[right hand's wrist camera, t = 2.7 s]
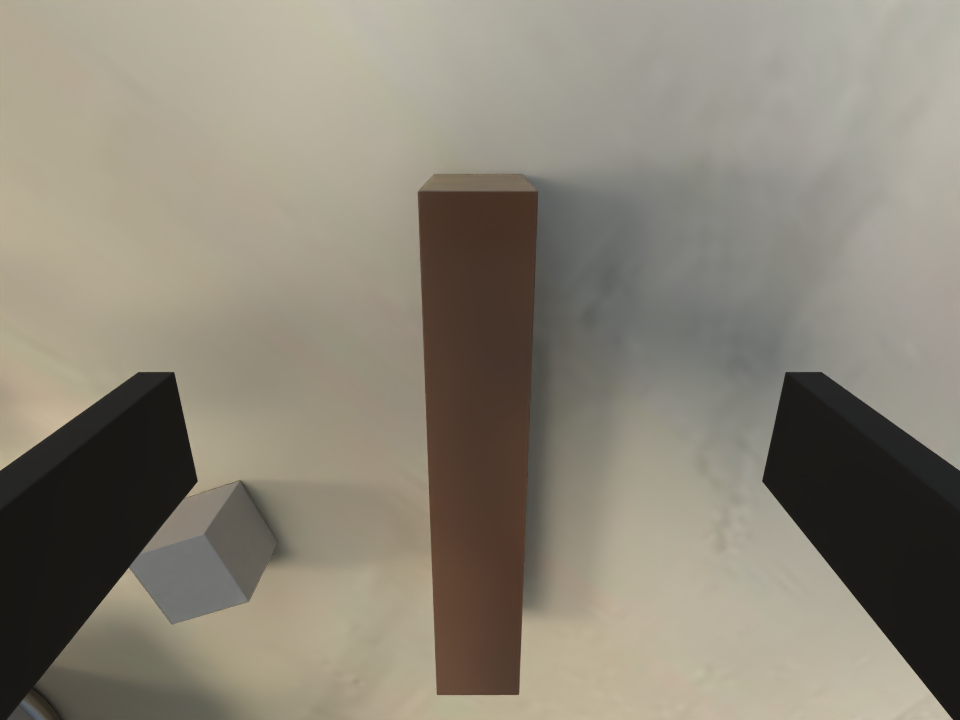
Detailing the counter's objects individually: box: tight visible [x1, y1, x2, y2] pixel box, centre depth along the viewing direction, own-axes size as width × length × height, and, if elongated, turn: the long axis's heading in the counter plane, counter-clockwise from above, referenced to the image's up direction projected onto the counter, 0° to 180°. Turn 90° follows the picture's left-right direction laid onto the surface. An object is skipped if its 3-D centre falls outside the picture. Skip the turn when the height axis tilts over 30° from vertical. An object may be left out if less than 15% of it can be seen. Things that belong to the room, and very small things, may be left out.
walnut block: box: [418, 174, 538, 695], centre depth 30 cm, size 4×26×8 cm, turn 0°
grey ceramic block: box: [129, 481, 278, 624], centre depth 34 cm, size 5×5×5 cm
